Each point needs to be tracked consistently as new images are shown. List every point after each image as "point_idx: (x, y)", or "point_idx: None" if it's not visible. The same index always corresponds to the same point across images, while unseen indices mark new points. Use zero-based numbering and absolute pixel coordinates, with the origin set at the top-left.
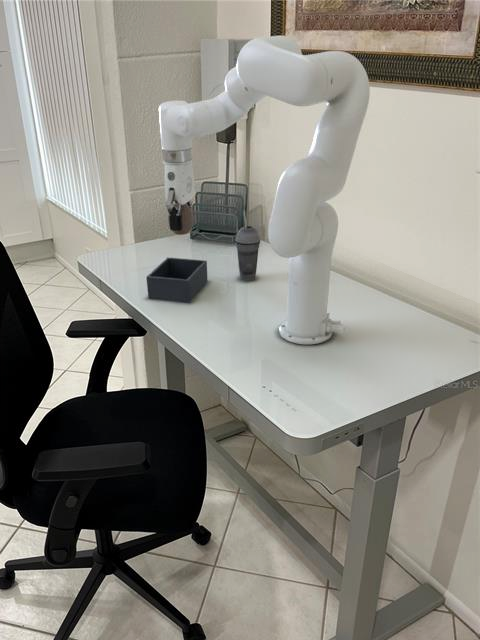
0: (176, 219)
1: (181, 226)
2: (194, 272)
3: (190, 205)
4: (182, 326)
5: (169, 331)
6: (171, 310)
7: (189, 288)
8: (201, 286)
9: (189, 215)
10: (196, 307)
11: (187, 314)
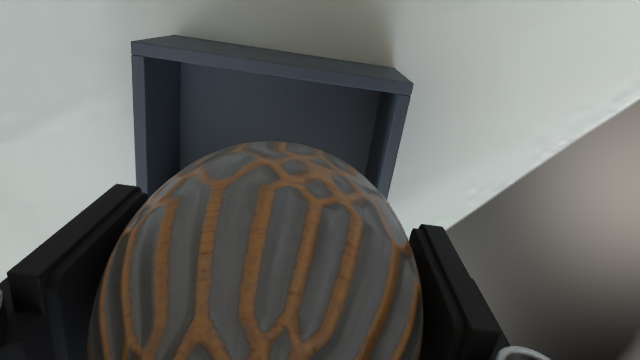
0: (501, 342)
1: (442, 242)
2: (305, 74)
3: (3, 300)
4: (599, 50)
5: (632, 89)
6: (457, 122)
7: (396, 75)
8: (250, 47)
9: (345, 222)
10: (432, 30)
11: (495, 54)
